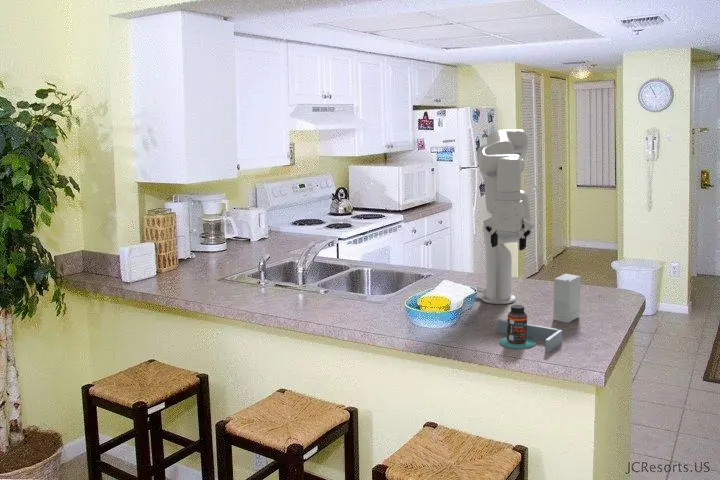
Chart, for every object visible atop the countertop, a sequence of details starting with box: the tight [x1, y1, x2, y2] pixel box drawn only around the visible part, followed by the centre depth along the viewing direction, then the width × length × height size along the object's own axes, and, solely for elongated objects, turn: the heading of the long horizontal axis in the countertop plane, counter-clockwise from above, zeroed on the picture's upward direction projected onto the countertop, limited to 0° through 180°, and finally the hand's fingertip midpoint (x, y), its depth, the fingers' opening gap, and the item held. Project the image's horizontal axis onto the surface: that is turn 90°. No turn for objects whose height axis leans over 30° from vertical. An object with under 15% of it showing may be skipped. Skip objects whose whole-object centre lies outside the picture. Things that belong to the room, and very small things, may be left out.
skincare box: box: [552, 273, 581, 324], centre depth 233 cm, size 8×6×15 cm
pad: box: [498, 336, 537, 350], centre depth 212 cm, size 11×11×1 cm
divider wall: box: [496, 319, 563, 354], centre depth 213 cm, size 22×12×4 cm, turn 53°
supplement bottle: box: [506, 304, 528, 344], centre depth 212 cm, size 6×6×11 cm
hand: (508, 247), depth 224 cm, fingers open, 9 cm apart
